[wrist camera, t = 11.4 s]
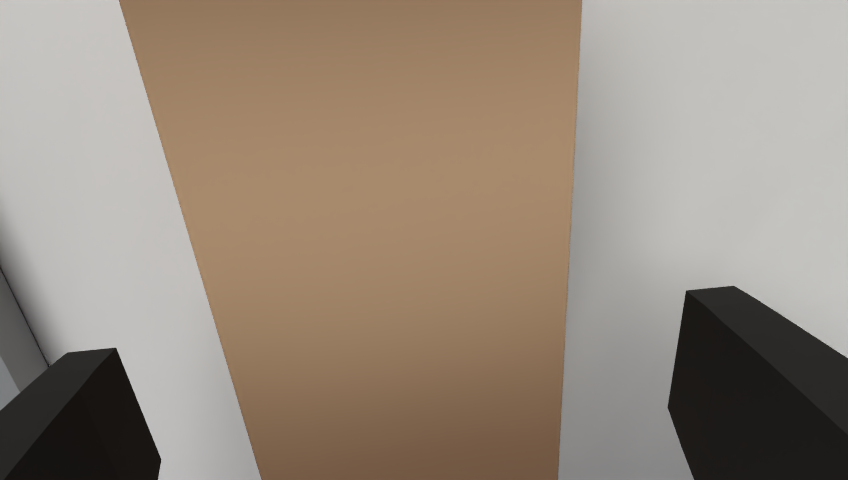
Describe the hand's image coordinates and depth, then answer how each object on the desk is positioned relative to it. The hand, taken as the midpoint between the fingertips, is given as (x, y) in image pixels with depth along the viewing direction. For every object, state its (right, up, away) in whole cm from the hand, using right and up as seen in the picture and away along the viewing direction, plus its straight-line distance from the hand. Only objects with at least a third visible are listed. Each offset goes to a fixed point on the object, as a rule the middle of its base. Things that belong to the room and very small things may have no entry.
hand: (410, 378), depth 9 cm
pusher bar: (0, +2, +3) cm, 4 cm away
